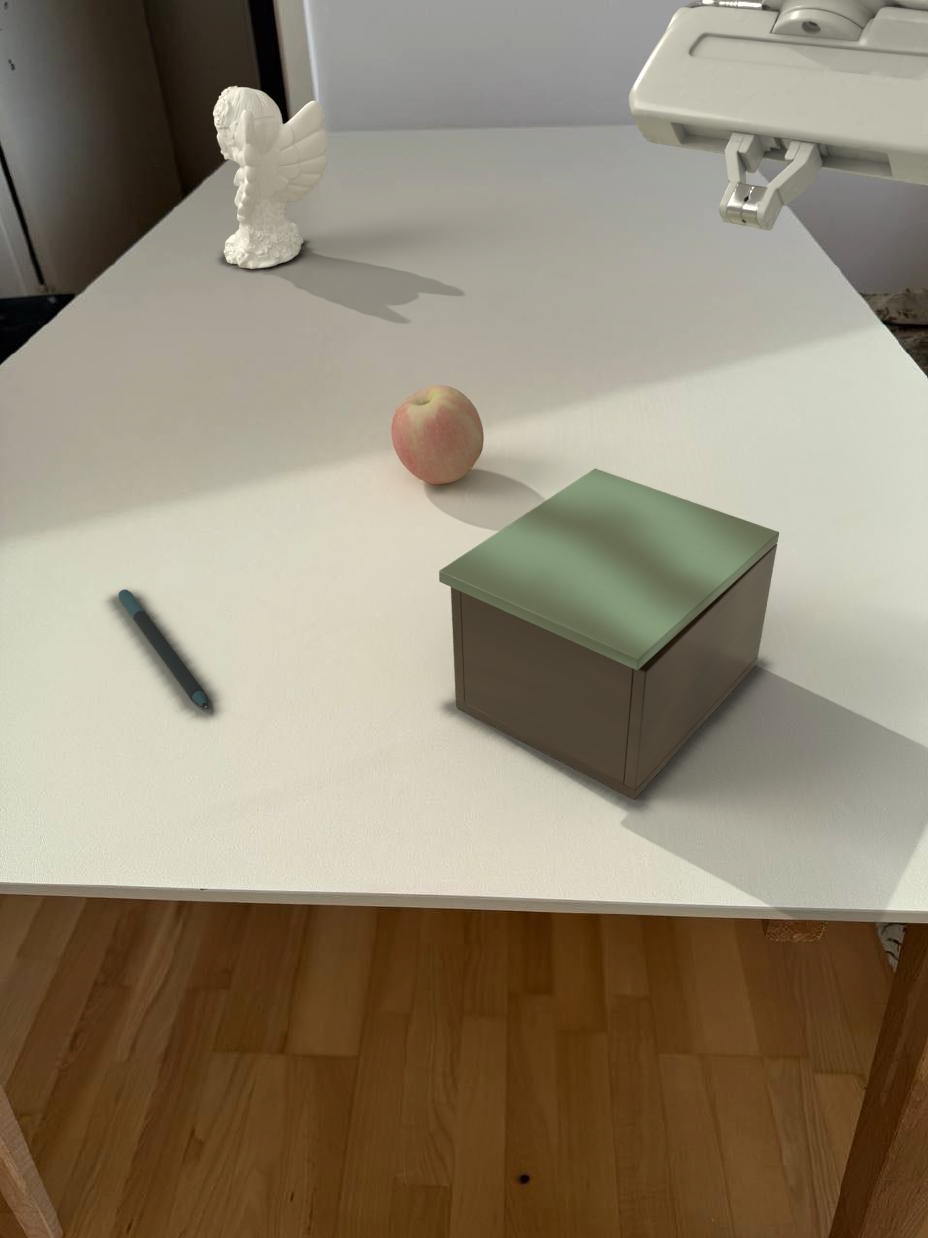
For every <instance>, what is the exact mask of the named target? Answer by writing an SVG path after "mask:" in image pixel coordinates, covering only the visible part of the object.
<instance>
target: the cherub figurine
mask: <svg viewBox="0 0 928 1238" xmlns="http://www.w3.org/2000/svg"><path fill="white" fill-rule="evenodd" d="M212 115H213V121H214V123H213V124H214V127H215V128H216V131H217V134H216V140H217V143H218V146H219V147H220V153H221V155H223V158H224V160H230V161H233V162H235V163H237V164H238V165H239V168H238V169H237V170H236V173H235V175H234V178H233V185H234V186H236V187H238V189H237V191H236V195H235V198H234V205H235V206H236V207H237V213H236V220H237V221H238V222H239V225H238V226H239V227H238V229H237V231H235V232H234V233H233V234H231V235H230V236H229V237H228V238H227V239H226V240H225V242H224V249H223V254H224V257H225V260H226V262H227V263H228V264H230V265H232V264H233V265H238V267H239V268H241V269H251V270H256V269H264V268H270V267H274V266H277V265H278V264H282V263H286V262H289V261H291V260H293V259H294V257H297V256H298V255H299V253H300V251H301V248H302V245H303V244H304V239H303V238H302V235H301V234H299V233H300V228H299V226H298V224H296V223H294V222H292V221H290V220H289V218H287V216H286V213H285V212H286V210H287V203H297V202H300V201H301V200H303V198H304V197H305V196H307V195H309V194H310V193H311V192H312V191H313V190H314V188H315V186H316V185H318V184H319V183H320V182H321V180H322V179H323V177H324V174H323V173H324V172H325V170H326V168H327V166H328V162H329V160H328V155H327V151H328V149H329V144H330V143H329V136H328V132H327V131H326V129H325V128H324V125H325V120H326V115H325V111H324V108H323V106H322V105H321V104H320V102H319V101H318V100H312V101H308V103H306V104H304V106H303V107H302V108H300V110H299V111H297V112H296V113H295V114H294V116H292V117H291V118H290V119H289V120H288V121H286V122H285V123H283V117H282V113H281V110H280V108H279V106H278V104H277V103H276V102H275V101H274V100H273V99H272V98H271V97H270V96H269V95H268V94H267V93H266V92H264V91H262V90H259V89H255V88H251V87H247V86H246V87H243V86H240V87H238V85H235V86H234V85H233V86H228V87H227V88H224V89H223V90H222V91H221V95H219V96H218V100H217V101H216V103H215V105H214V107H213V112H212Z"/></svg>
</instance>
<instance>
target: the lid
mask: <svg viewBox="0 0 928 1238" xmlns="http://www.w3.org/2000/svg"><path fill="white" fill-rule="evenodd" d="M779 537H780V531H777V530H774V529H771V528H769V527H766V526H763V525H760V524H757V523H756V522H755V523H754V522H751V521H748V520H746V519H742V518H740V517H737V516H734V515H732V514H728V513H725V512H723V511H720V510H717V509H714V508H711V507H708V506H705V505H702V504H699V503H697V502H695V501H694V502H693V501H691V500H688V499H686V498H685V499H684V498H682V497H679V496H676V495H673V494H670V493H667V492H665V491H662V490H660V489H656V488H653V487H651V486H648V485H644V484H641V483H639V482H637V481H634V480H630V479H627V478H624V477H621V476H619V475H616V474H612V473H610V472H607V471H604V470H601V469H598V468H593V469H592V470H590V471H588V472H587V473H586V474H584V475H582V476H581V477H579V478H578V479H577V480H575V481H574V482H572V483H570V484H569V485H568V486H566V487H564V488H563V489H561V490H560V491H559V492H556V493H555V494H554V495H552V496H551V497H549V498H547V499H546V500H545V501H542V503H540V504H539V505H537V506H535V507H533V509H531V510H530V511H528V512H526V513H525V514H524V515H522V516H520V517H518V518H517V519H516V520H514V521H513V522H511V523H509V524H508V525H506V526H505V527H503V528H501V530H499V531H498V532H496V533H494V534H493V535H491V536H489V537H488V538H487V539H485V540H484V541H483V542H481V543H479V544H478V545H476V546H474V547H473V548H472V549H470V550H469V551H467V552H466V553H464V554H463V555H461V556H460V557H458V558H456V559H455V560H453V561H452V562H450V563H449V564H447V565H446V566H444V567H442V568H441V569H440V570H439V571H438V581H439V583H442V584H444V585H446V586H448V587H450V588H451V587H452V588H454V589H457V590H459V591H461V592H463V593H466V594H468V595H470V596H472V597H475V598H477V599H479V600H481V601H483V602H486V603H488V604H490V605H492V606H495V607H497V608H499V609H501V610H504V611H506V612H508V613H510V614H513V615H515V616H517V617H519V618H521V619H524V620H526V621H528V622H530V623H533V624H535V625H537V626H539V627H542V628H544V629H546V630H548V631H550V632H553V633H555V634H557V635H559V636H562V637H564V638H566V639H568V640H571V641H573V642H575V643H577V644H579V645H582V646H584V647H586V648H588V649H591V650H593V651H595V652H597V653H600V654H602V655H604V656H606V657H609V658H611V659H613V660H615V661H617V662H620V663H622V664H624V665H626V666H629V667H631V668H633V669H635V670H638V669H639V668H640V667H642V666H643V665H644V664H645V663H646V662H647V661H648V660H649V659H650V658H651V657H653V656H654V655H655V654H656V653H657V652H658V651H659V650H660V649H661V648H662V647H664V646H665V645H666V644H667V643H668V642H669V641H670V640H671V639H672V638H673V637H675V636H676V635H677V634H678V633H679V632H680V631H681V630H682V629H683V628H684V627H685V626H687V625H688V624H689V623H690V622H691V621H692V620H693V619H694V618H695V617H696V616H698V615H699V614H700V613H701V612H702V611H703V610H704V609H705V608H706V607H707V606H709V605H710V604H711V603H712V602H713V601H714V600H715V599H716V598H717V597H718V596H719V595H721V594H722V593H723V592H724V591H725V590H726V589H727V588H728V587H729V586H730V585H732V584H733V583H734V582H735V581H736V580H737V579H738V578H739V577H740V576H741V575H743V574H744V573H745V572H746V571H747V570H748V569H749V568H750V567H751V566H752V565H754V564H755V563H756V562H757V561H758V560H759V559H760V558H761V557H762V556H763V555H764V554H766V553H767V552H768V551H769V550H770V549H771V548H772V547H773V546H774V545H775V544H777V545H778V542H779Z"/></svg>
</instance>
